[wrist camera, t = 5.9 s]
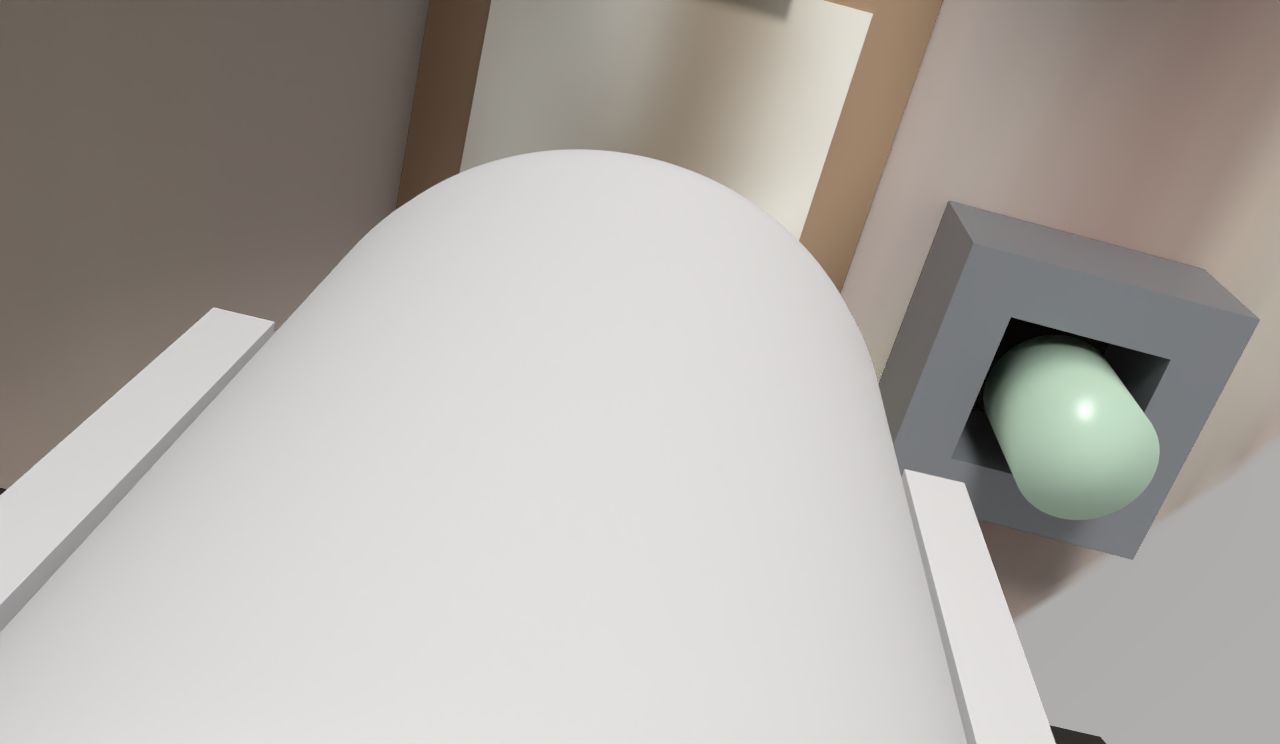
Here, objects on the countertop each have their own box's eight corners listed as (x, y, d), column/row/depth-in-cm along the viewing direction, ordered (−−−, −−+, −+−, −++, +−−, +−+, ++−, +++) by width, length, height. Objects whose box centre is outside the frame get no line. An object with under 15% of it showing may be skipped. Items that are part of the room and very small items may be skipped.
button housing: (861, 429, 33) (874, 492, 29) (948, 201, 30) (974, 242, 26) (1094, 491, 33) (1132, 559, 30) (1204, 269, 30) (1259, 319, 27)
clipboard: (377, 351, 33) (365, 369, 32) (463, -171, 27) (451, -172, 26) (778, 456, 33) (780, 477, 32) (950, -37, 27) (959, -32, 26)
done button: (964, 430, 30) (991, 500, 26) (1011, 320, 28) (1045, 380, 25) (1082, 461, 30) (1123, 534, 26) (1134, 353, 28) (1184, 416, 25)
